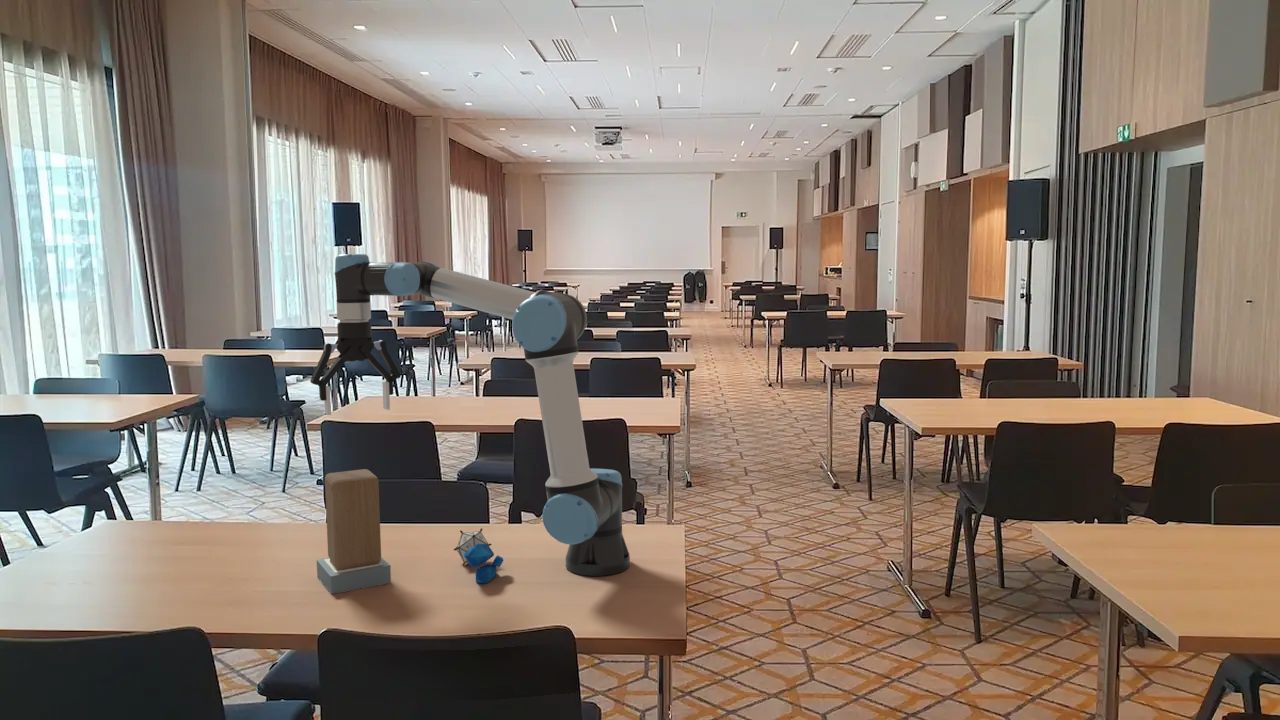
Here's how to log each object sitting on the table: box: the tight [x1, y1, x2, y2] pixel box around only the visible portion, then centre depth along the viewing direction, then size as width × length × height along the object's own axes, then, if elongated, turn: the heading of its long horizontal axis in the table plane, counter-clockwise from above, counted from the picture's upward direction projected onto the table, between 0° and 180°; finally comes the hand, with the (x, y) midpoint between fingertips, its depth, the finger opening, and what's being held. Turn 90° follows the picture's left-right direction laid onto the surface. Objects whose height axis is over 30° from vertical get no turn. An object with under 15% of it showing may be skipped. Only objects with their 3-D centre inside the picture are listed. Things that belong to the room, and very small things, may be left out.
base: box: [316, 556, 392, 595], centre depth 204 cm, size 13×13×4 cm
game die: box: [453, 527, 492, 567], centre depth 215 cm, size 9×8×10 cm
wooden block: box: [324, 468, 382, 569], centre depth 203 cm, size 10×10×20 cm
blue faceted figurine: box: [464, 543, 504, 584], centre depth 203 cm, size 7×9×12 cm
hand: (357, 411), depth 211 cm, fingers open, 13 cm apart
